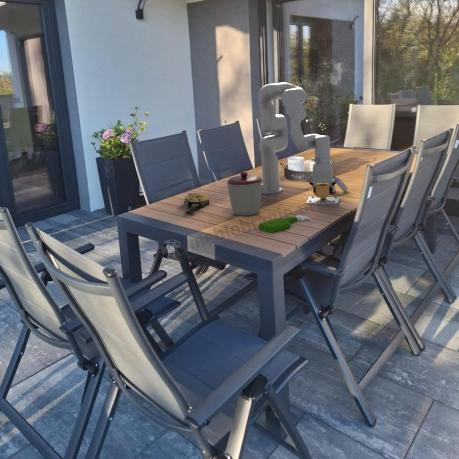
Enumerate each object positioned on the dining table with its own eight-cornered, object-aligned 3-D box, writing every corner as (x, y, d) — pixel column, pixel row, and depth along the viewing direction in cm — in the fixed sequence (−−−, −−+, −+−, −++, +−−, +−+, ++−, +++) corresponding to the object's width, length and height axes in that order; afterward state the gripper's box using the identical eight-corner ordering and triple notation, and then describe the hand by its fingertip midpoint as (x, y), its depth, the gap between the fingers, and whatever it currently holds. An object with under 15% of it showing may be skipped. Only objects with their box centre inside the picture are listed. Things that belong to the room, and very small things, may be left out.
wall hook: (348, 192, 265) (344, 174, 262) (330, 197, 268) (325, 179, 265) (348, 188, 272) (344, 171, 270) (330, 193, 275) (325, 176, 273)
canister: (253, 220, 232) (250, 176, 225) (221, 216, 241) (218, 174, 235) (270, 209, 246) (268, 168, 240) (240, 206, 256) (237, 167, 249)
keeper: (305, 204, 251) (305, 191, 248) (309, 198, 261) (309, 185, 259) (337, 204, 246) (337, 191, 244) (340, 198, 257) (340, 185, 254)
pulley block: (176, 203, 246) (188, 189, 274) (176, 214, 248) (187, 199, 276) (204, 206, 245) (212, 192, 273) (203, 217, 247) (212, 202, 275)
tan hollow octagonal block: (315, 197, 251) (314, 186, 249) (317, 194, 257) (316, 183, 255) (329, 197, 249) (328, 186, 247) (330, 194, 255) (330, 183, 253)
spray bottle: (256, 229, 219) (296, 217, 233) (273, 234, 211) (312, 222, 225) (256, 223, 218) (295, 211, 232) (272, 228, 210) (312, 215, 224)
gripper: (304, 161, 246) (304, 196, 252) (339, 161, 241) (339, 196, 247) (306, 159, 253) (307, 192, 259) (340, 158, 248) (340, 192, 253)
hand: (322, 194), depth 252 cm, fingers closed on tan hollow octagonal block, 7 cm apart
